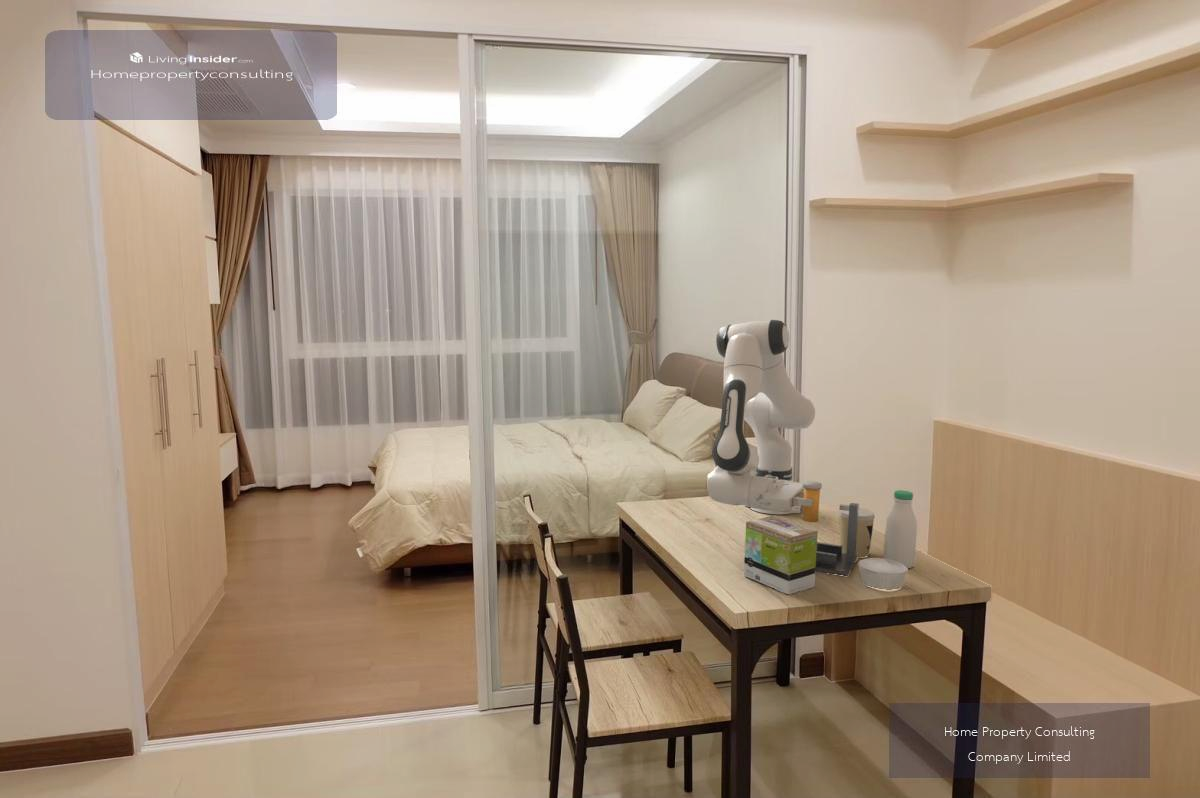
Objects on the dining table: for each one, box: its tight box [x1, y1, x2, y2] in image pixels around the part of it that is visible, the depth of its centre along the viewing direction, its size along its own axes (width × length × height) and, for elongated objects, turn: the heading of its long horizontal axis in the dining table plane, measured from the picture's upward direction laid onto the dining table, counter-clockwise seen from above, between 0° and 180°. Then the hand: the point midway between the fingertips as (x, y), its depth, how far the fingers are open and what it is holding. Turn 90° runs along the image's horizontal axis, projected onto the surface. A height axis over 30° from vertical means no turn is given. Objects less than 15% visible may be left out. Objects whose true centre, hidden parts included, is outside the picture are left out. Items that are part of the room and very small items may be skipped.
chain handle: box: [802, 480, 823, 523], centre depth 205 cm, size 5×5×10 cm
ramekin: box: [858, 557, 909, 590], centre depth 191 cm, size 11×11×5 cm
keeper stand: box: [815, 502, 860, 577], centre depth 204 cm, size 15×12×17 cm
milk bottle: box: [883, 490, 918, 569], centre depth 205 cm, size 8×8×20 cm
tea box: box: [743, 515, 819, 595], centre depth 191 cm, size 15×10×15 cm
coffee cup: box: [838, 507, 875, 558], centre depth 214 cm, size 9×9×12 cm
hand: (815, 500), depth 205 cm, fingers closed on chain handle, 4 cm apart
